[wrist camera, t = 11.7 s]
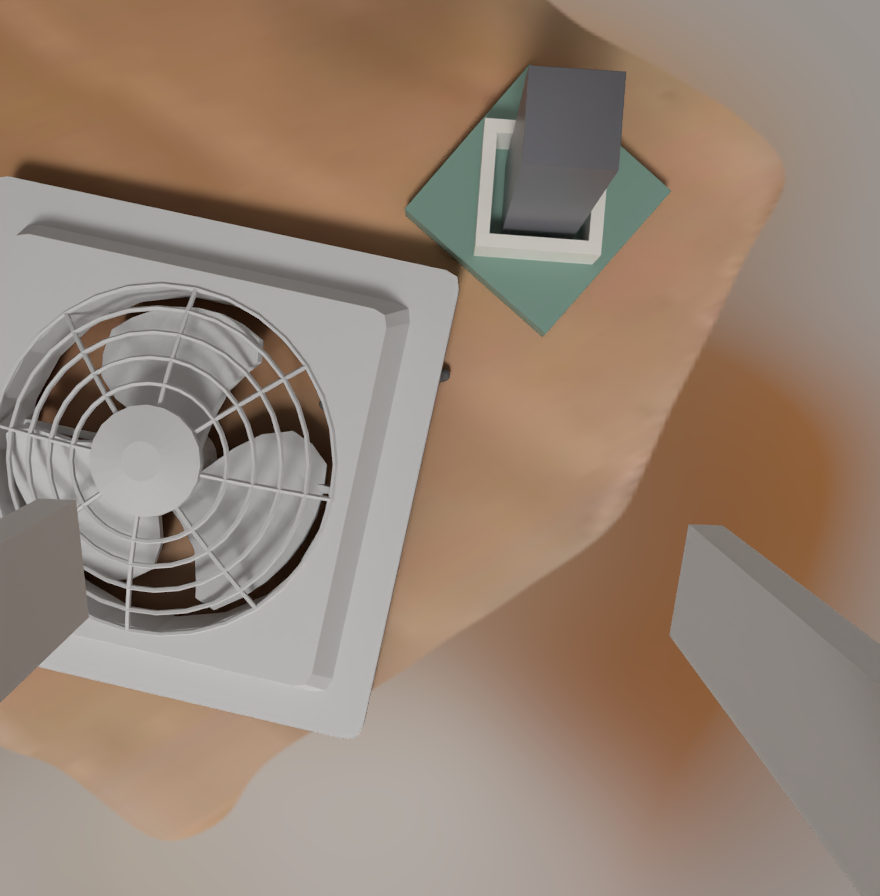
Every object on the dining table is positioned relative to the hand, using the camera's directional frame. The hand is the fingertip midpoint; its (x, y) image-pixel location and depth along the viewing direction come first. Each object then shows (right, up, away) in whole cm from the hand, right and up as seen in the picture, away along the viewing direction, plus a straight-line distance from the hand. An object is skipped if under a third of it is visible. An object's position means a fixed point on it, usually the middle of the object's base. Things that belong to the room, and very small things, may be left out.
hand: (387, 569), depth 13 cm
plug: (+7, +18, +24) cm, 31 cm away
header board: (+7, +18, +25) cm, 32 cm away
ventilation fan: (-15, +2, +26) cm, 30 cm away
